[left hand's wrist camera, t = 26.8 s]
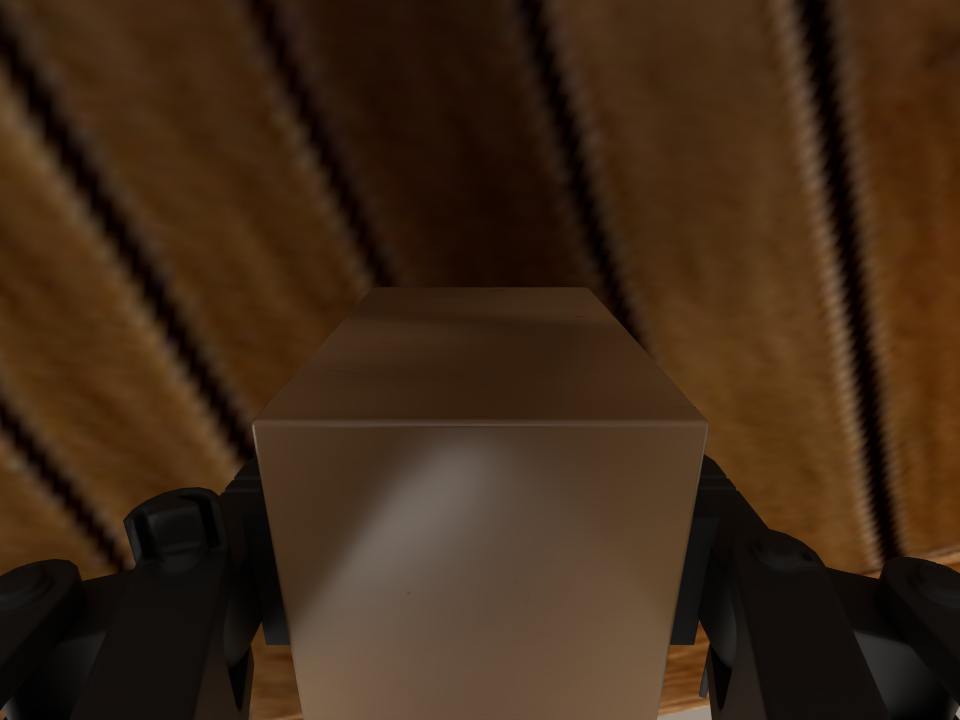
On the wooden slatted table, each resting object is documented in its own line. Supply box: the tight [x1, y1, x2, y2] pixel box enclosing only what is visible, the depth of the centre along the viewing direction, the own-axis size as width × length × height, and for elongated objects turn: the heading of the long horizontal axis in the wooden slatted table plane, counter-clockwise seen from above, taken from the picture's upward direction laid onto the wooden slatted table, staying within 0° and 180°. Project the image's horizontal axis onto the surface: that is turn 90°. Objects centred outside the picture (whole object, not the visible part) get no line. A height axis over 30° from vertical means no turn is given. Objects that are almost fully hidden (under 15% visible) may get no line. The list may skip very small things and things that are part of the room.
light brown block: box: [252, 287, 708, 720], centre depth 12 cm, size 6×7×8 cm
